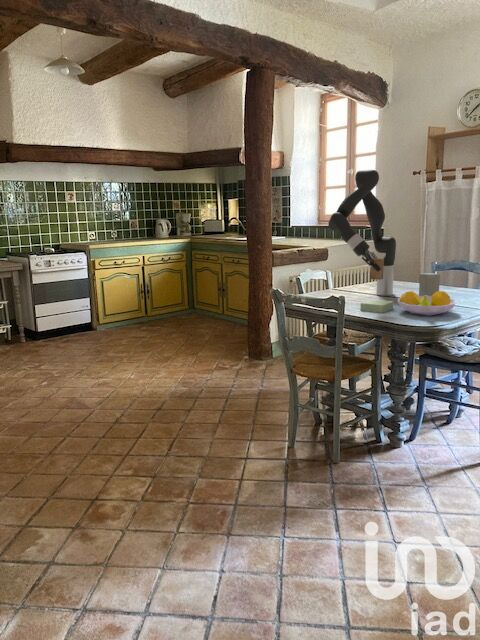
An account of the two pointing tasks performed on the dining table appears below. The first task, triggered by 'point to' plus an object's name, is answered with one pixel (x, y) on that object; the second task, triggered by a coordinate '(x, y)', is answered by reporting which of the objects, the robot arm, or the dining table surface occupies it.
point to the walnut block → (378, 274)
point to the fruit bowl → (426, 303)
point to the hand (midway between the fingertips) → (380, 269)
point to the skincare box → (428, 284)
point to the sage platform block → (376, 305)
